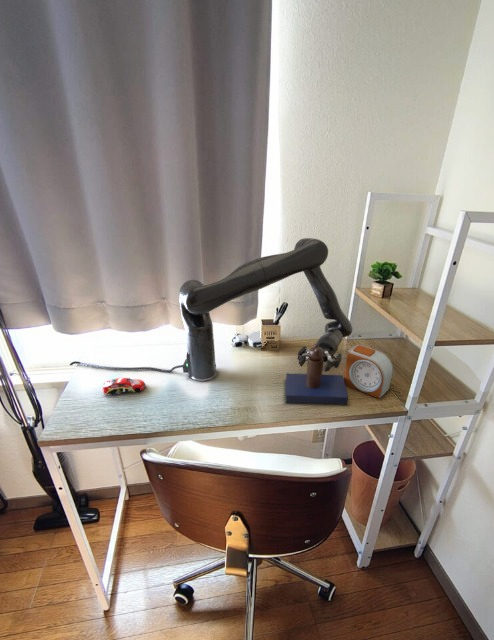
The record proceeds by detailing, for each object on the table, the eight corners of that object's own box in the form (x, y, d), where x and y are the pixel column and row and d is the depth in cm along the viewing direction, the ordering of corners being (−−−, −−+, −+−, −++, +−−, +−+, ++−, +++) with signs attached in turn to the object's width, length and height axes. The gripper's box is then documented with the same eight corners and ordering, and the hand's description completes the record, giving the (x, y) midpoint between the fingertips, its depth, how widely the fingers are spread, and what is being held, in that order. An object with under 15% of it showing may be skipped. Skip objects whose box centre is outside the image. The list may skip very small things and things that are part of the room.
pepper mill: (304, 388, 123) (308, 349, 115) (304, 380, 128) (307, 342, 119) (321, 388, 124) (325, 349, 115) (319, 381, 128) (324, 342, 119)
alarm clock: (340, 383, 132) (345, 349, 125) (352, 374, 138) (357, 341, 130) (378, 399, 125) (386, 364, 117) (389, 388, 131) (397, 354, 123)
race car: (146, 384, 128) (144, 374, 126) (145, 392, 124) (143, 382, 121) (105, 387, 125) (102, 377, 123) (103, 396, 121) (100, 385, 118)
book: (286, 403, 121) (286, 395, 120) (286, 380, 133) (286, 373, 131) (347, 405, 121) (348, 397, 120) (341, 382, 133) (342, 375, 131)
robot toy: (231, 353, 150) (268, 352, 150) (229, 343, 148) (267, 341, 147) (234, 340, 160) (268, 338, 160) (233, 330, 158) (268, 329, 157)
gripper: (308, 332, 132) (293, 351, 119) (348, 340, 128) (336, 360, 115) (307, 351, 136) (291, 371, 123) (345, 359, 132) (333, 381, 119)
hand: (313, 366), depth 119 cm, fingers open, 8 cm apart
